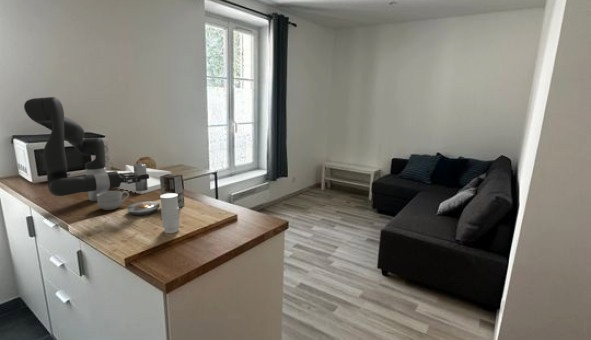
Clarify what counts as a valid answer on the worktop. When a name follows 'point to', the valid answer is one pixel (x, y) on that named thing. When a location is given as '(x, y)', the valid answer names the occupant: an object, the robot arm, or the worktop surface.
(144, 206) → the round metal dish
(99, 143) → the robot arm
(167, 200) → the candle
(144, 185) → the gray metal canister
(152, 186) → the white paper airplane
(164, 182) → the coffee box
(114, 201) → the teacup
